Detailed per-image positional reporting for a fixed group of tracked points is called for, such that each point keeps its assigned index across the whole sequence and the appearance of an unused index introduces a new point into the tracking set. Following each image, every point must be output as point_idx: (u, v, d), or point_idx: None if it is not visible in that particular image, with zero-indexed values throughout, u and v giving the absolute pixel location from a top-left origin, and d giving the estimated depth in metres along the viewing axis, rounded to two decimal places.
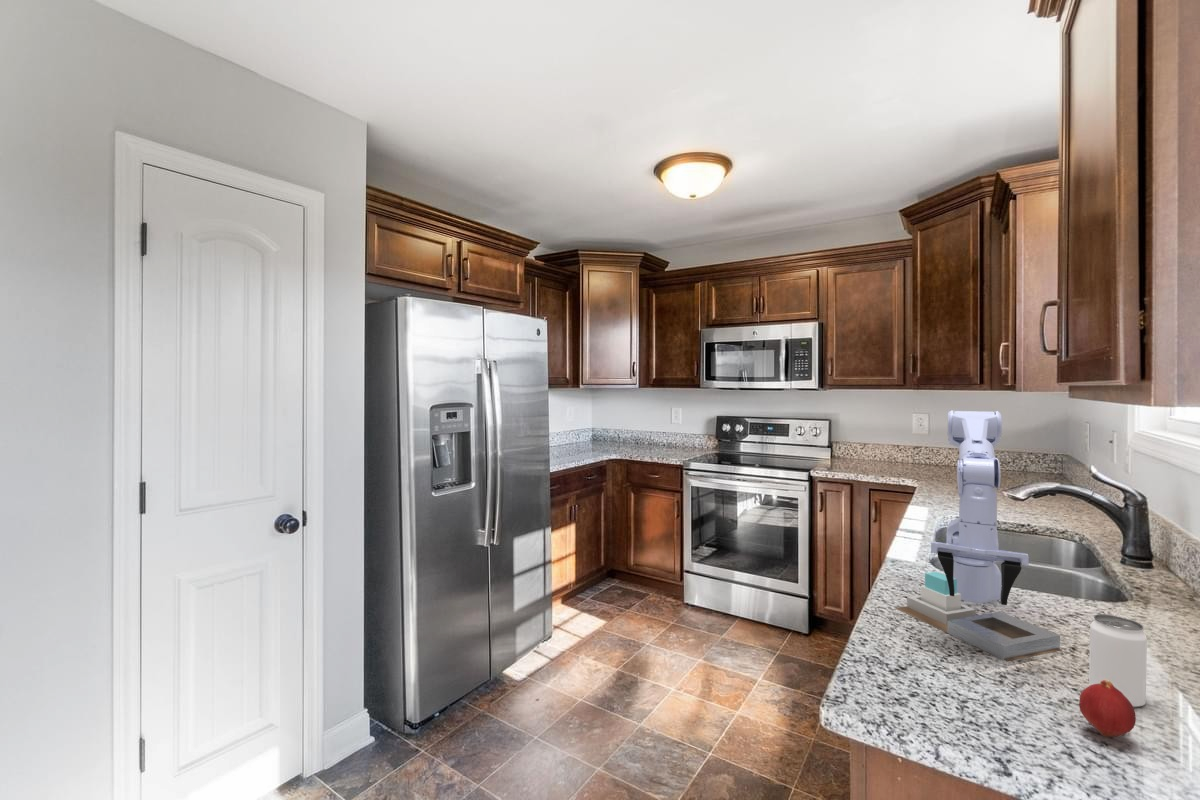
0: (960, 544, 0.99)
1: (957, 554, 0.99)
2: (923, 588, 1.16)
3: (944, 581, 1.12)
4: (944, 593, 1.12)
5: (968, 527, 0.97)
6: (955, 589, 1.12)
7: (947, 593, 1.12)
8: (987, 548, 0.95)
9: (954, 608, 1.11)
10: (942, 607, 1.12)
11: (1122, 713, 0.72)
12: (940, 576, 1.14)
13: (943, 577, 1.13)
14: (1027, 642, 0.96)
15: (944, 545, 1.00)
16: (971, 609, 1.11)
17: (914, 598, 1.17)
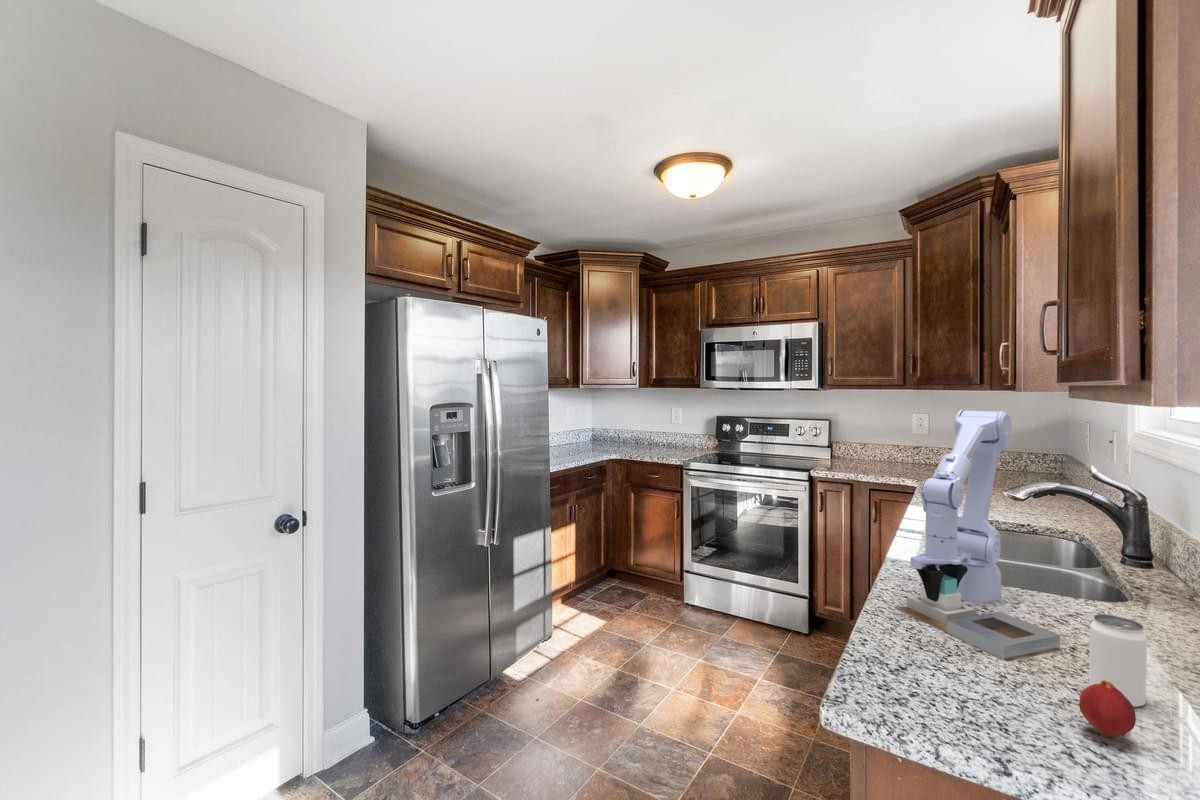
0: (935, 556, 1.12)
1: (930, 565, 1.13)
2: (923, 588, 1.16)
3: (944, 581, 1.12)
4: (944, 593, 1.12)
5: (946, 542, 1.11)
6: (955, 589, 1.12)
7: (947, 593, 1.12)
8: (956, 557, 1.12)
9: (954, 608, 1.11)
10: (942, 607, 1.12)
11: (1122, 713, 0.72)
12: None
13: (943, 577, 1.13)
14: (1027, 642, 0.96)
15: (928, 561, 1.11)
16: (971, 609, 1.11)
17: (914, 598, 1.17)
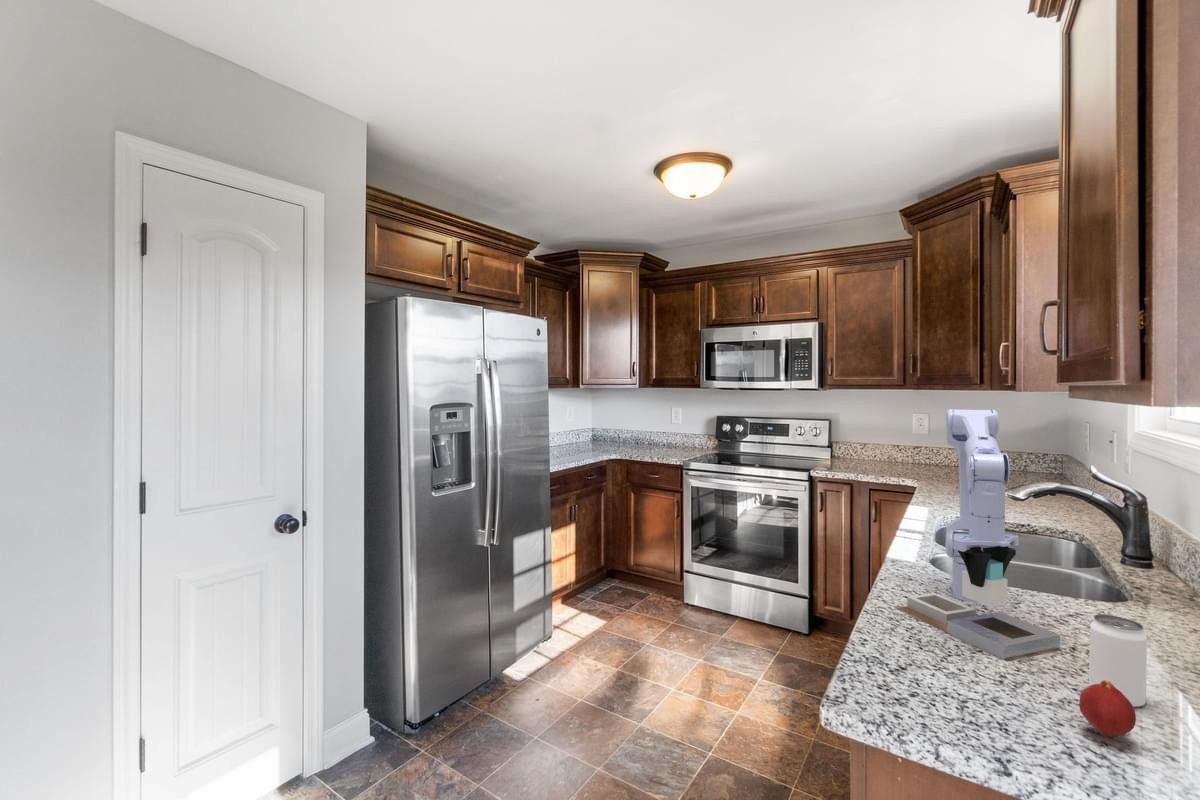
0: (981, 538, 1.03)
1: (975, 547, 1.03)
2: (965, 573, 1.07)
3: (989, 565, 1.02)
4: (989, 578, 1.02)
5: (993, 522, 1.02)
6: (1001, 574, 1.03)
7: (992, 578, 1.02)
8: (1004, 538, 1.02)
9: (1000, 594, 1.02)
10: (987, 593, 1.02)
11: (1122, 713, 0.72)
12: None
13: None
14: (1027, 642, 0.96)
15: (973, 542, 1.02)
16: (971, 609, 1.11)
17: (914, 598, 1.17)
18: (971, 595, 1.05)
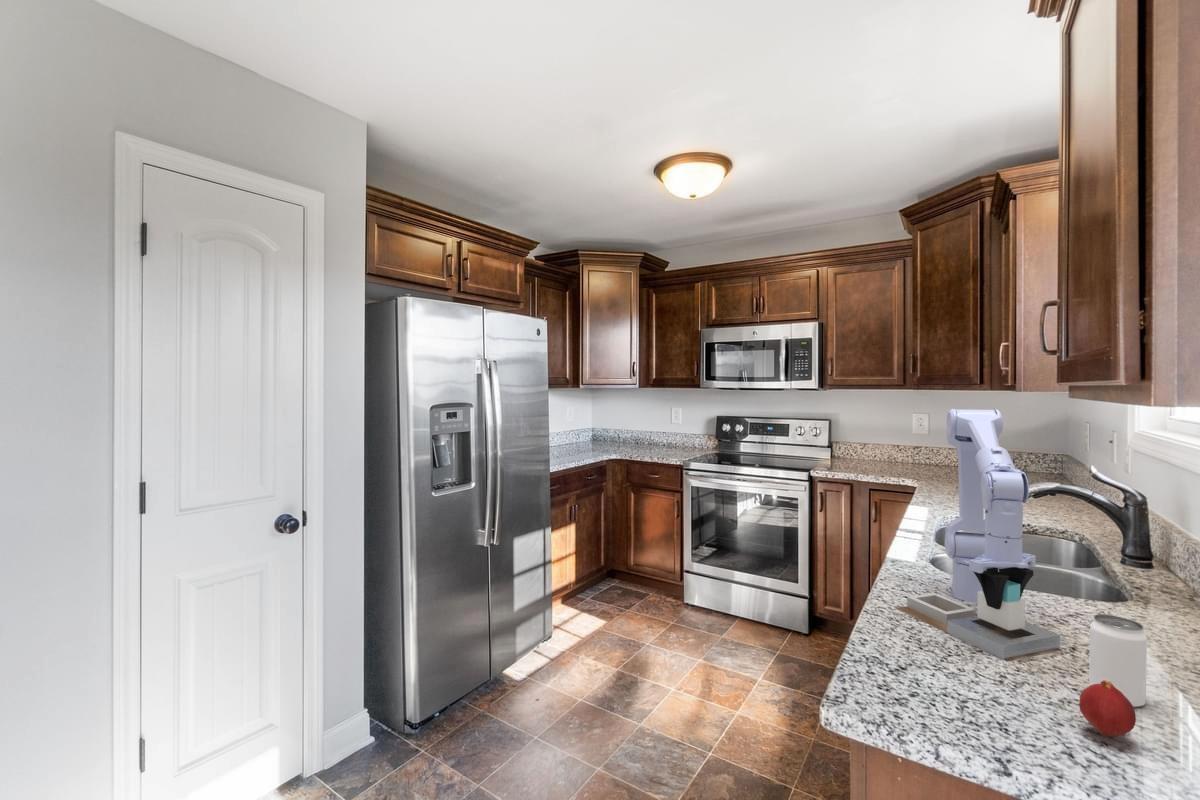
0: (998, 559, 1.00)
1: (992, 568, 1.00)
2: (980, 594, 1.04)
3: (1007, 587, 0.99)
4: (1006, 600, 0.99)
5: (1010, 542, 0.99)
6: (1018, 595, 1.00)
7: (1010, 600, 0.99)
8: (1022, 559, 1.00)
9: (1018, 617, 0.99)
10: (1004, 616, 0.99)
11: (1122, 713, 0.72)
12: None
13: None
14: (1027, 642, 0.96)
15: (990, 564, 0.99)
16: (971, 609, 1.11)
17: (914, 598, 1.17)
18: (987, 617, 1.03)
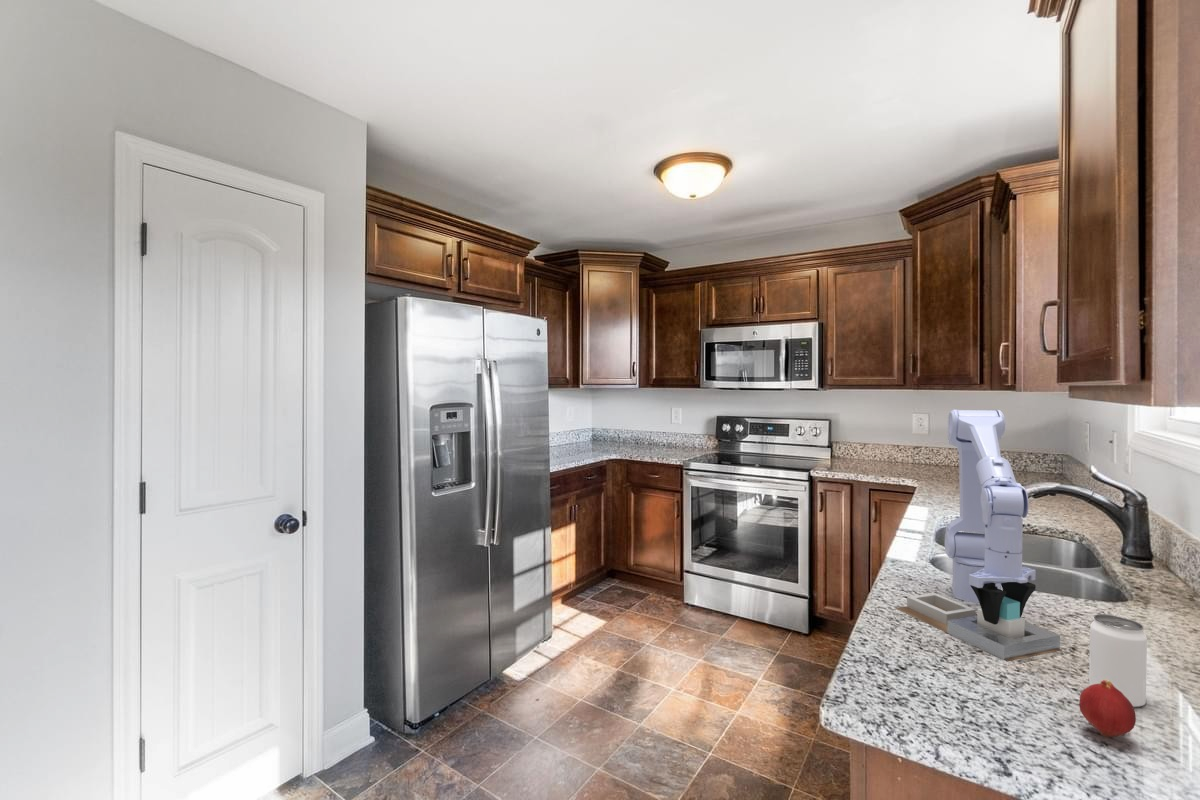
0: (998, 574, 1.00)
1: (991, 583, 1.01)
2: (980, 611, 1.04)
3: (1006, 605, 0.99)
4: (1006, 618, 0.99)
5: (1010, 557, 0.99)
6: (1018, 613, 1.00)
7: (1009, 618, 1.00)
8: (1021, 574, 1.00)
9: (1017, 635, 0.99)
10: (1004, 634, 0.99)
11: (1122, 713, 0.72)
12: None
13: (1004, 600, 1.01)
14: (1027, 642, 0.96)
15: (989, 578, 0.99)
16: (971, 609, 1.11)
17: (914, 598, 1.17)
18: None
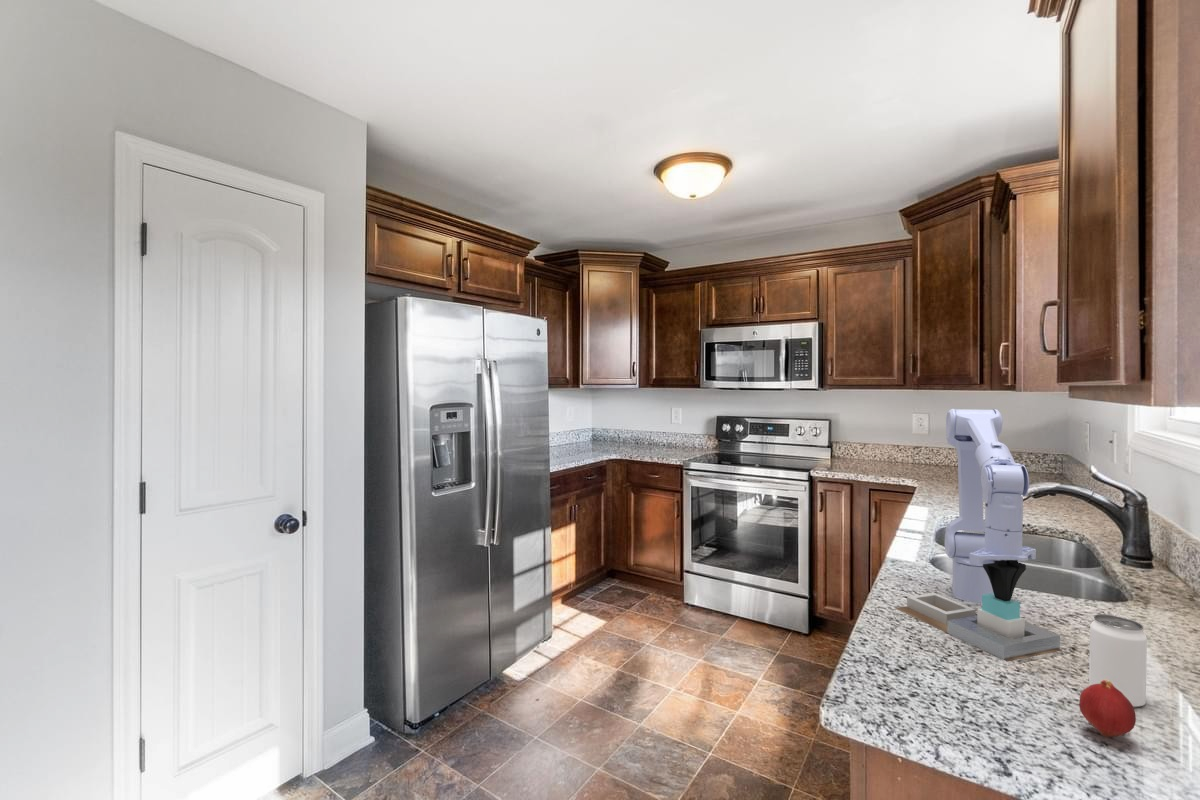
0: (998, 552, 1.00)
1: (992, 561, 1.00)
2: (980, 611, 1.04)
3: (1006, 605, 0.99)
4: (1006, 618, 0.99)
5: (1010, 535, 0.99)
6: (1018, 613, 1.00)
7: (1009, 618, 1.00)
8: (1022, 552, 1.00)
9: (1017, 635, 0.99)
10: (1004, 634, 0.99)
11: (1122, 713, 0.72)
12: None
13: None
14: (1027, 642, 0.96)
15: (990, 557, 0.99)
16: (971, 609, 1.11)
17: (914, 598, 1.17)
18: None
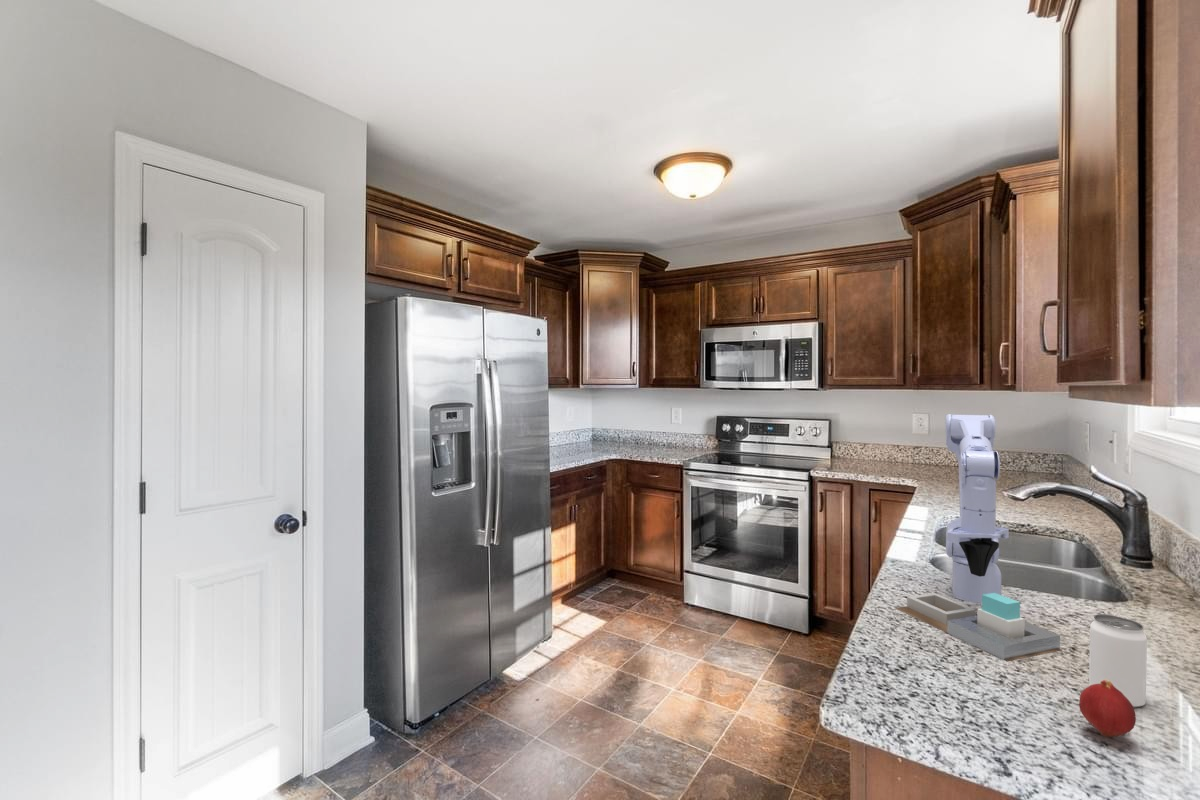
0: (973, 531, 1.08)
1: (967, 540, 1.09)
2: (980, 611, 1.04)
3: (1006, 605, 0.99)
4: (1006, 618, 0.99)
5: (984, 515, 1.07)
6: (1018, 613, 1.00)
7: (1009, 618, 1.00)
8: (995, 531, 1.08)
9: (1017, 635, 0.99)
10: (1004, 634, 0.99)
11: (1122, 713, 0.72)
12: (1000, 598, 1.02)
13: (1004, 600, 1.01)
14: (1027, 642, 0.96)
15: (965, 535, 1.07)
16: (971, 609, 1.11)
17: (914, 598, 1.17)
18: None
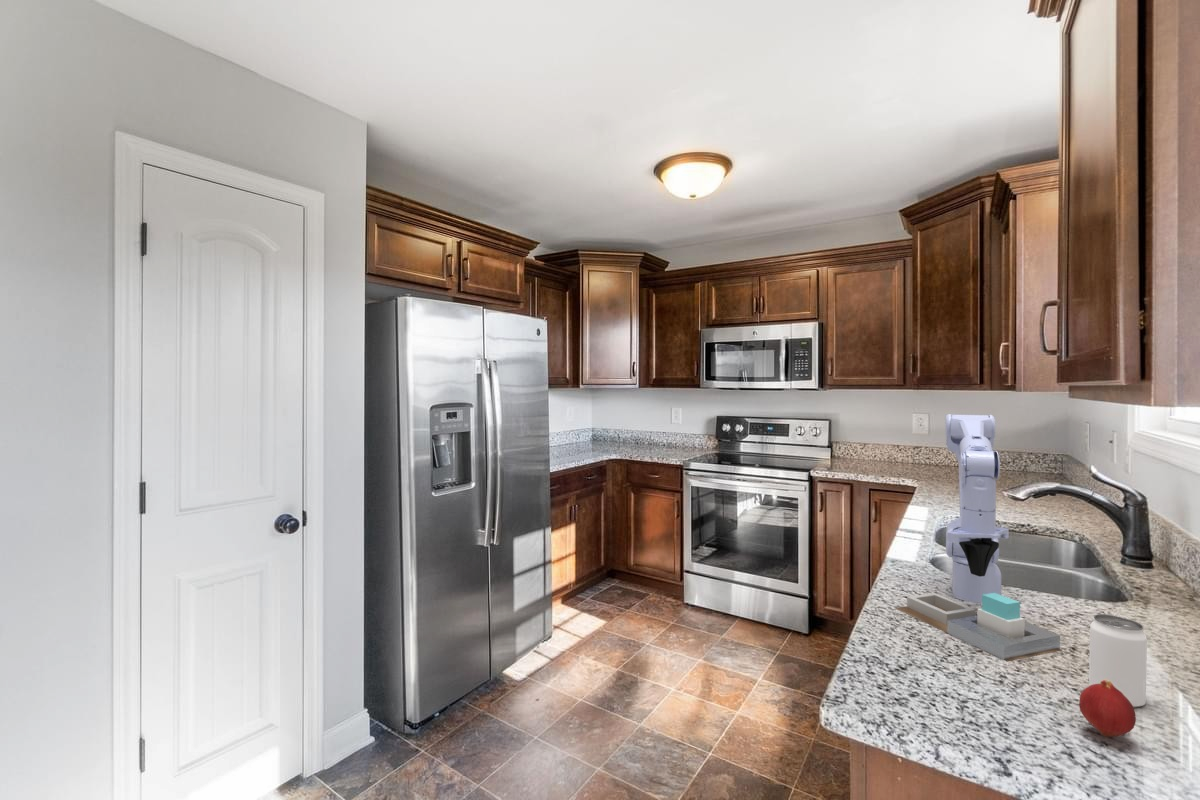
0: (973, 531, 1.08)
1: (967, 540, 1.09)
2: (980, 611, 1.04)
3: (1006, 605, 0.99)
4: (1006, 618, 0.99)
5: (984, 515, 1.07)
6: (1018, 613, 1.00)
7: (1009, 618, 1.00)
8: (995, 531, 1.08)
9: (1017, 635, 0.99)
10: (1004, 634, 0.99)
11: (1122, 713, 0.72)
12: (1000, 598, 1.02)
13: (1004, 600, 1.01)
14: (1027, 642, 0.96)
15: (965, 535, 1.07)
16: (971, 609, 1.11)
17: (914, 598, 1.17)
18: None
